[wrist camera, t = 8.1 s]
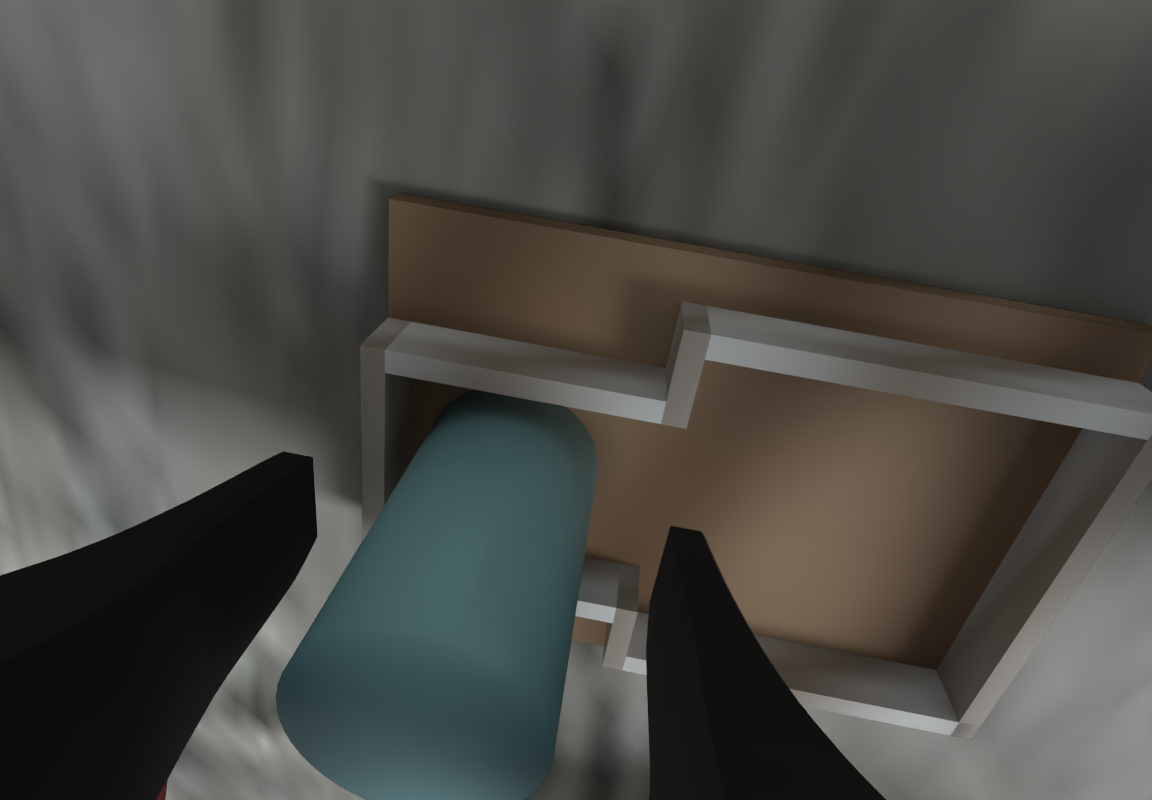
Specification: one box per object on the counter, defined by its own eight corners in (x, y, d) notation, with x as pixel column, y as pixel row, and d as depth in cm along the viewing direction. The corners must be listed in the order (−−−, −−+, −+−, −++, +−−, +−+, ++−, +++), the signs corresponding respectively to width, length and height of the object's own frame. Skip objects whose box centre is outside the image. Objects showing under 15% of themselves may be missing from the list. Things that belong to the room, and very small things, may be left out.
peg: (618, 413, 15) (585, 679, 8) (573, 546, 16) (520, 843, 10) (442, 363, 14) (280, 596, 8) (418, 504, 16) (272, 776, 10)
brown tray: (1147, 324, 13) (1228, 370, 11) (924, 692, 18) (953, 764, 16) (399, 193, 13) (357, 216, 12) (393, 587, 19) (364, 646, 17)
